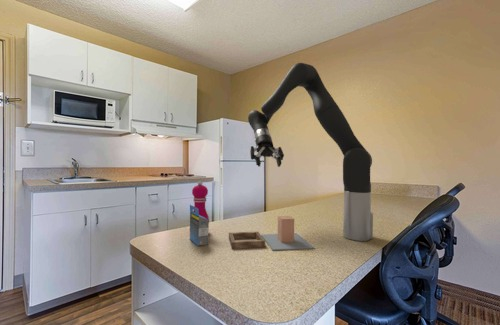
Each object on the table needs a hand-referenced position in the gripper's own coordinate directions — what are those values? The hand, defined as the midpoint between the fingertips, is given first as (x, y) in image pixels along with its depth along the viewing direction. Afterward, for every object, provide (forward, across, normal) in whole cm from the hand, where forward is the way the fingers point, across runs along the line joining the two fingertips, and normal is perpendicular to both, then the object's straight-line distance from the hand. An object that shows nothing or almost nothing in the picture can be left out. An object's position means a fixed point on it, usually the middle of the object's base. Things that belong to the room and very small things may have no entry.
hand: (269, 165), depth 102 cm
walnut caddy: (+30, -12, +8) cm, 33 cm away
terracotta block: (+30, +2, +7) cm, 31 cm away
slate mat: (+30, +2, +7) cm, 31 cm away
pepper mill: (+20, -28, +18) cm, 39 cm away
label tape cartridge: (+28, -28, +10) cm, 41 cm away
